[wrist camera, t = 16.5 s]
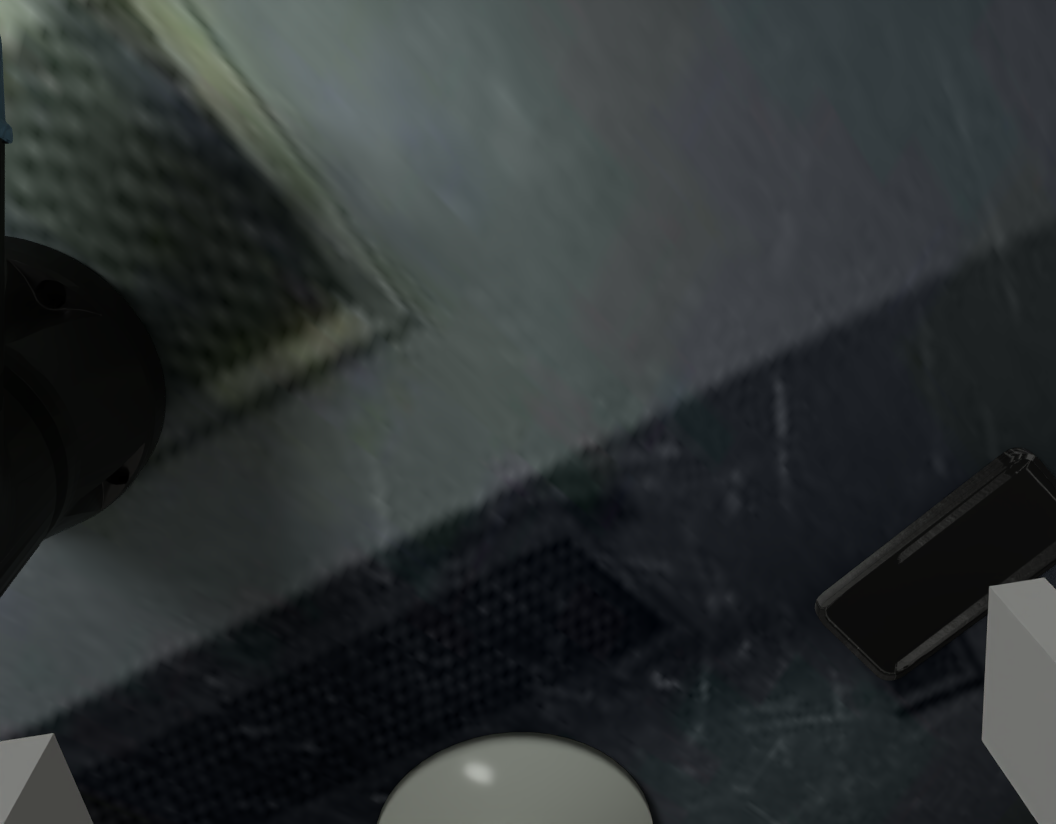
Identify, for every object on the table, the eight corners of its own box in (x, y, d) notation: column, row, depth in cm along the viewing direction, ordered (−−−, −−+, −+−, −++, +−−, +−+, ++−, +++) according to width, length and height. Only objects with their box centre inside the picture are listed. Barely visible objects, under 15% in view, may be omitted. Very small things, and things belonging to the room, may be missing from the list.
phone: (1100, 531, 56) (888, 687, 60) (1088, 521, 57) (881, 675, 61) (1026, 443, 54) (810, 611, 57) (1015, 435, 55) (803, 600, 58)
